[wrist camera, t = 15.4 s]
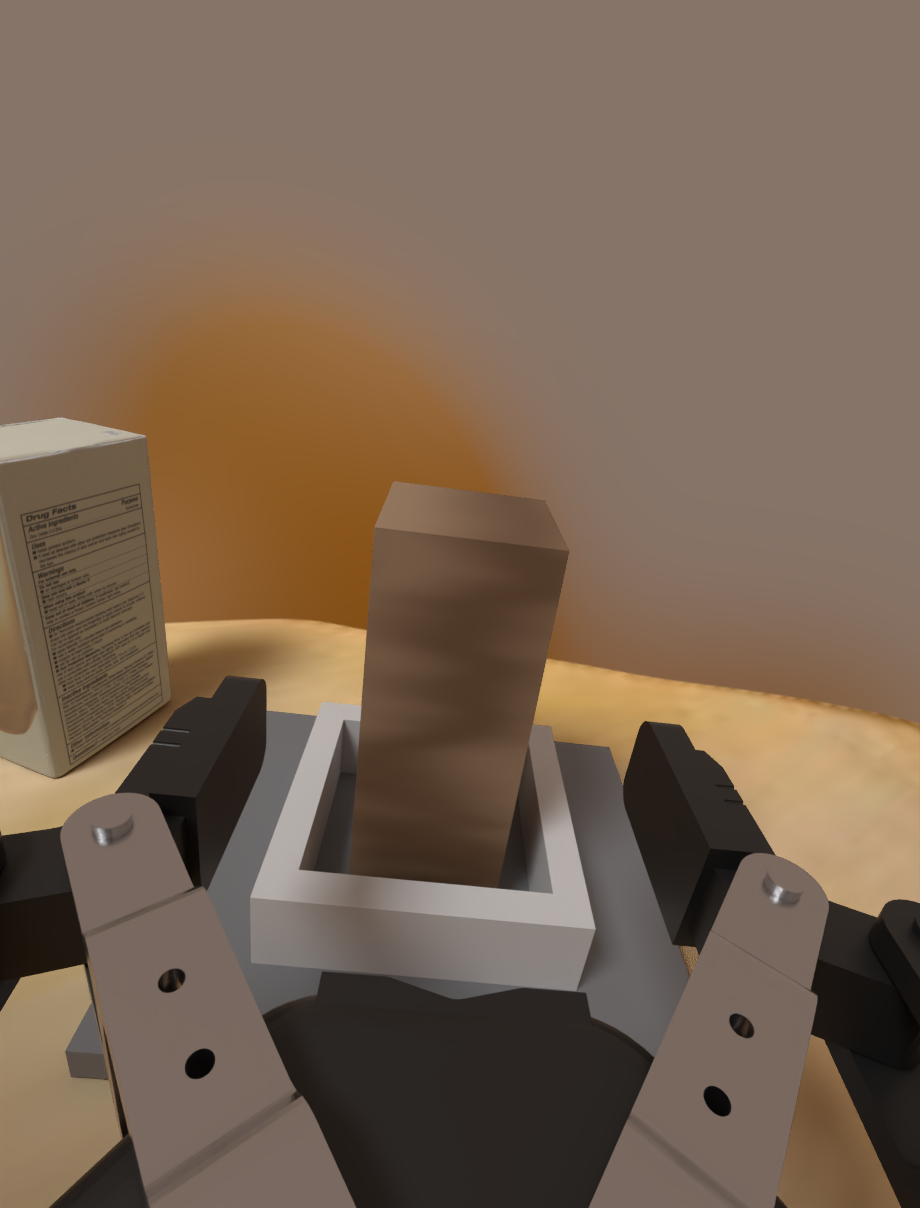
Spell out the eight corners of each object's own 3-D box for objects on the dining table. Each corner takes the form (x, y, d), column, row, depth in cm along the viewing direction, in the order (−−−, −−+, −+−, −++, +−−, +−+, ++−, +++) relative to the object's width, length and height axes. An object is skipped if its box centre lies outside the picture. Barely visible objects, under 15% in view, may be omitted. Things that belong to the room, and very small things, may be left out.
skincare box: (101, 676, 30) (68, 414, 25) (176, 702, 28) (156, 433, 24) (-37, 751, 24) (-118, 430, 19) (49, 787, 23) (-12, 456, 18)
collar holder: (70, 1076, 15) (49, 981, 13) (252, 727, 27) (251, 659, 26) (721, 1126, 16) (767, 1040, 14) (604, 764, 28) (622, 700, 27)
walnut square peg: (347, 900, 19) (374, 527, 14) (366, 798, 23) (393, 481, 18) (492, 914, 19) (569, 551, 14) (486, 810, 23) (544, 500, 18)
